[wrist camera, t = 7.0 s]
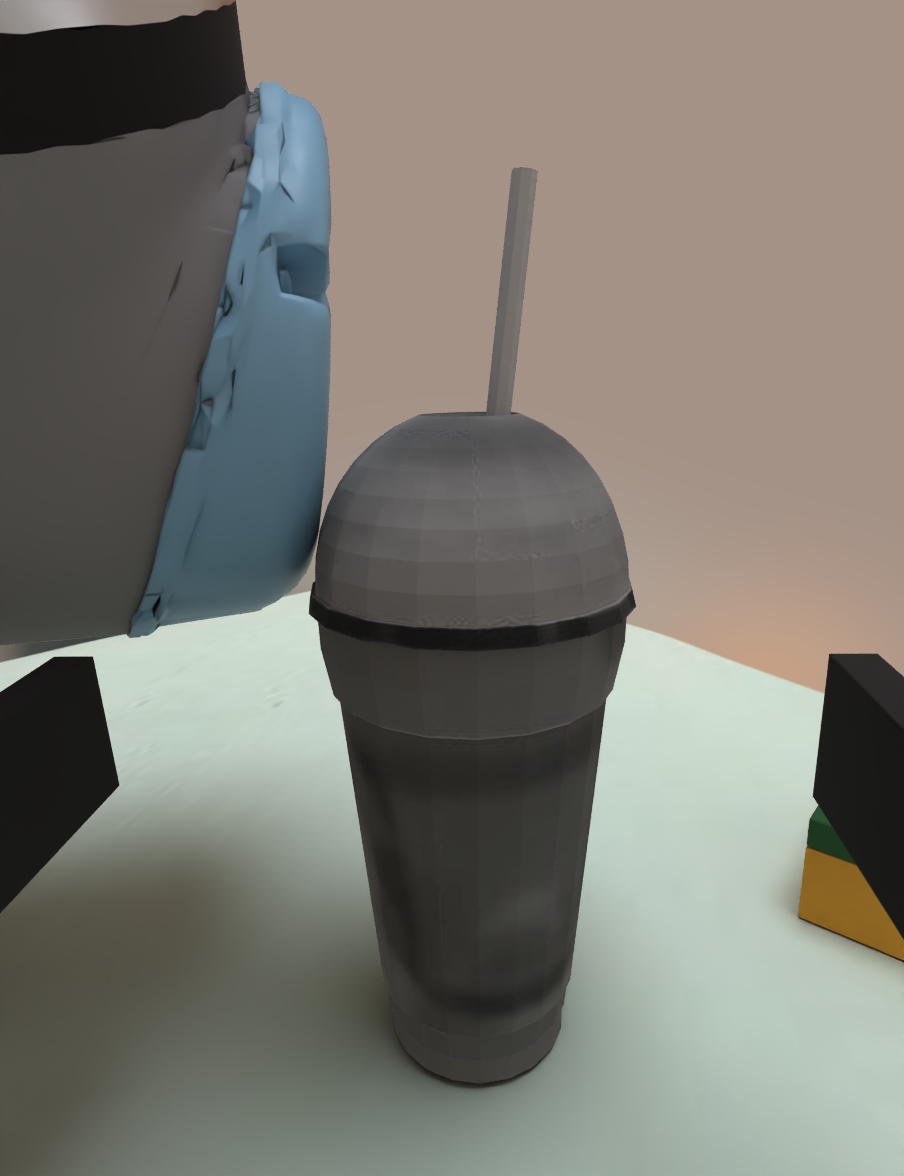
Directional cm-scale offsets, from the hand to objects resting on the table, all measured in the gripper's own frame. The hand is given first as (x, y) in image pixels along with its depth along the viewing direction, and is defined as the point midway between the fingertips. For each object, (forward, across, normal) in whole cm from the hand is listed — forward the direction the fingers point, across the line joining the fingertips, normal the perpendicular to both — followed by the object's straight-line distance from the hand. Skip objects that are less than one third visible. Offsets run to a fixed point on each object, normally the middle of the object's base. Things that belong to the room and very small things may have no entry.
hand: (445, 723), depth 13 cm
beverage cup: (+4, 0, -10) cm, 11 cm away
